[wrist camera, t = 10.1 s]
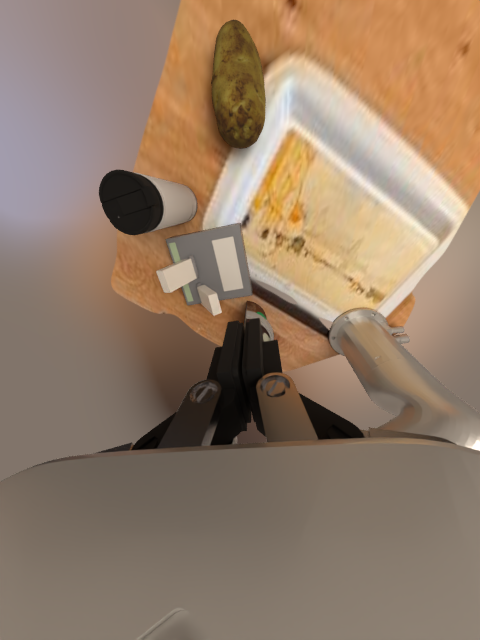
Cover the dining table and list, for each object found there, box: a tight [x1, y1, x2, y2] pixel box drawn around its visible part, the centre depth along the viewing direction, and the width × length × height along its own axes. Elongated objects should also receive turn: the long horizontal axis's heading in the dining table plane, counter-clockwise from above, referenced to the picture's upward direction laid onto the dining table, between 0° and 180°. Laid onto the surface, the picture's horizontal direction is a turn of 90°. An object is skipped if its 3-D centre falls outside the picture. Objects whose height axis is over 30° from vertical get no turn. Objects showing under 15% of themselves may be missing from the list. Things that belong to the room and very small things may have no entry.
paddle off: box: [197, 283, 222, 316], centre depth 41 cm, size 2×4×8 cm, turn 11°
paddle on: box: [156, 255, 200, 293], centre depth 39 cm, size 2×4×8 cm, turn 11°
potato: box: [211, 20, 265, 148], centre depth 30 cm, size 8×13×8 cm, turn 168°
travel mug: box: [99, 170, 197, 235], centre depth 31 cm, size 6×7×20 cm
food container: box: [244, 301, 274, 341], centre depth 46 cm, size 12×6×10 cm, turn 174°
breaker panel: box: [166, 223, 252, 305], centre depth 44 cm, size 14×14×3 cm
